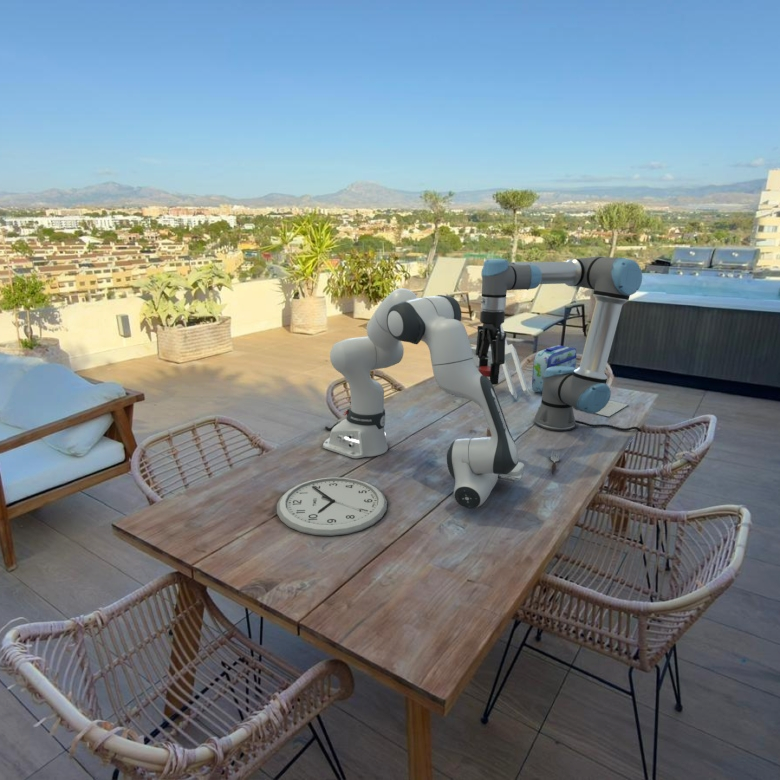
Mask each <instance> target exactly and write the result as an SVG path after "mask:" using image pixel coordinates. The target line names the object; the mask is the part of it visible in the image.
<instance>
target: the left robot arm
mask: <svg viewBox="0 0 780 780" xmlns="http://www.w3.org/2000/svg"><path fill="white" fill-rule="evenodd" d="M461 321H462V308H461V305H460V303H459V302H458V300H457V299H455V297H453V296H449V295H444V294H437V295H434V296H433V295H431V296H423V297H419V298H418V296H417V295H416V294H415V293H414V292H413V291H412V290H410V289H408V288H405V287H404V288H403V287H402V288H396V289H394V290H393V291H391V292H390V293H389V294H388V295H387V296H386V297H385V298H384V299H383V300H382V301H381V303H380V304H379V305H378V306H377V308H376V310H375V311H374V313H373V314H372V316H371V317H370V319H369V320H368V322H367V324H366V335H367V336H366V335H365V336H361V337H359V336H358V337H350V338H345V339H343V340H340V341H338V342H335V343H333V345H332V347H331V349H330V351H329V352H330V353H329V360H330V363H331V366H332V367H333V368H334V370H335V371H337V372H338V373H340V375H342V376H343V377H344V379H345V380H346V382H347V384H348V387H349V394H350V407H349V408H347V409H346V410H345V411H344V412H343V416H346V417H345V418H344V419H343V420H340V421H338V420H337V421H336V423H334V424H333V425H332V426H331V427H328V426H326V425H325V427H324V428H325V430H327V431H330V433H329V437H328V438H326V439H325V440H324V442H323V444H322V448H323V449H325V450H328V451H331V452H334V453H336V454H340V455H342V456H345V457H349V458H352V459H357V460H358V459H362V458H367V457H369V458H370V457H377V456H380V455H383V454H385V453H386V452H387V451H388V450H389V446H388V442H387V438H386V435H387V434H386V432H385V426H386V409H385V389H384V387H383V385H382V384H381V383H380V382H379V381H377V380H375V379H373V378H372V377H371V371H375V370H379V369H387V368H390V367H392V366H395V365H397V364H399V363H401V361H402V360H403V358H404V353H405V352H404V351H405V349H404V345H403V343H402V342H405V343H410V344H413V345H418V344H419V343H420V342H421V341H422V342H423V343H424V344H426V345H427V347H428V350H429V356H430V361H431V367H432V373H433V377H434V380H435V382H436V385H438V386H439V388H440V389H441V390H442V391H444V392H446V393H448V394H449V395H451V396H456V397H460V398H463V399H467V400H470V401H472V402H474V403H476V404H477V405H478V406H479V407H480V408H481V410H482V412H483V416H484V417H485V421H486V424H487V428H488V427H489V429H490V432H491V435H492V436H491V437H487V436H481V437H480V436H478V437H463V438H456V439H454V440H453V442H452V443H451V444H450V446H449V447H448V450H447V452H446V463H447V464H446V465H447V469H448V471H449V474H450V475H451V477H452V478H453V480H454V488H453V498H454V500H455V502H456V503H457V504H458V505H459V506H461V507H463V508H464V509H465V508H466V509H477V508H479V507H480V506H482V505H484V503H485V502H486V500H487V499H488V498H489V496H490V494H491V492H492V490H493V489H494V488H495V486H496V484H497V482H498V481H499V480H500V481H505V482H510V483H516V482H518V481H521V479H522V477H523V476H524V473H525V464H524V463H523V462H521V461H519V450H518V447H517V444H516V442H515V440H514V438H513V435H512V433H511V432H510V429H509V426H508V424H507V420H506V418H505V415H504V412H503V409H502V406H501V403H500V401H499V398H498V395H497V393H496V390H495V388H494V385H492V383H491V381H490V377H485V376H483V375H482V374H481V373H480V372H479V370H478V369H477V367H476V365H475V362H474V359H473V353H472V349H471V347H472V344H471V341H470V338H469V335H468V331H467V330H466V327H465V325H464V323H463V322H461Z"/></svg>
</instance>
